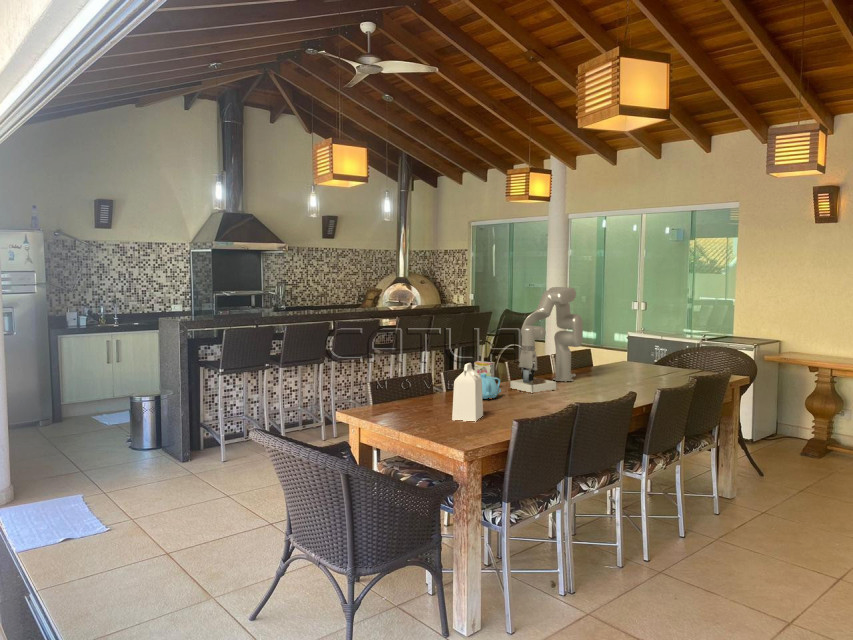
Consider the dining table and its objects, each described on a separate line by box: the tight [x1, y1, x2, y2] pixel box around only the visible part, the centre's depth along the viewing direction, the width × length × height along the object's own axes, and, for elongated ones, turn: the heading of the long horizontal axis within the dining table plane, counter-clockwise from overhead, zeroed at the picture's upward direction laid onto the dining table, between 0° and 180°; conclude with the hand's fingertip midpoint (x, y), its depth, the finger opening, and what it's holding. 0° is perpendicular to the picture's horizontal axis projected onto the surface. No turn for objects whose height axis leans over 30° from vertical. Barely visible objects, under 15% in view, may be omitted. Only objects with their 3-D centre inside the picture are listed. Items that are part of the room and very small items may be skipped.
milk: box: [451, 362, 484, 423], centre depth 304 cm, size 12×12×26 cm
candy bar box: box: [473, 360, 496, 378], centre depth 376 cm, size 11×5×16 cm, turn 58°
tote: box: [509, 377, 558, 393], centre depth 376 cm, size 20×18×5 cm
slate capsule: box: [523, 368, 532, 383], centre depth 373 cm, size 5×5×7 cm
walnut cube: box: [533, 377, 546, 385], centre depth 379 cm, size 5×5×5 cm
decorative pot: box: [480, 373, 502, 400], centre depth 352 cm, size 16×16×14 cm
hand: (527, 379), depth 373 cm, fingers closed on slate capsule, 4 cm apart
